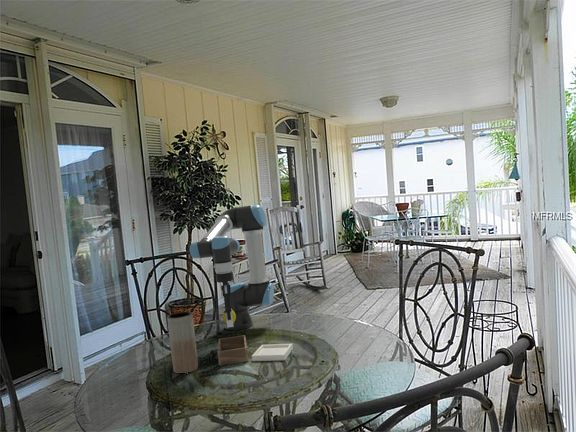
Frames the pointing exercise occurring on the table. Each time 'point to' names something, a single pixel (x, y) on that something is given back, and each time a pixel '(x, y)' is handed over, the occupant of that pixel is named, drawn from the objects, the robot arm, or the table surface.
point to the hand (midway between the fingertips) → (230, 324)
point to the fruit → (232, 316)
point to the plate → (272, 352)
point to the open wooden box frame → (232, 350)
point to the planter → (182, 342)
